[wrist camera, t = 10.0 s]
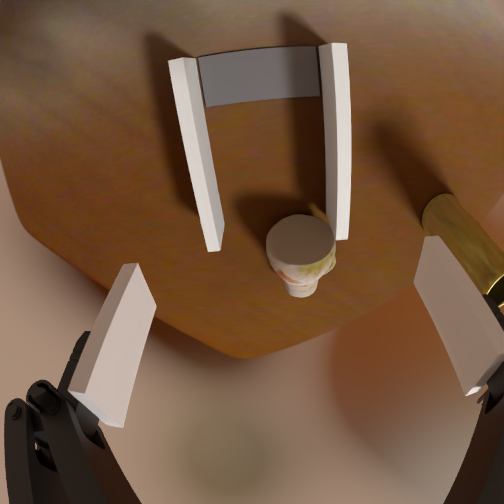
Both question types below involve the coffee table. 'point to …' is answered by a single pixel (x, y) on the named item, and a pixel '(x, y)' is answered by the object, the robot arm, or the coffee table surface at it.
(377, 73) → the coffee table surface
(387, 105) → the coffee table surface
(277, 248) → the mug
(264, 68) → the channel
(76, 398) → the robot arm
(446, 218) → the vase
